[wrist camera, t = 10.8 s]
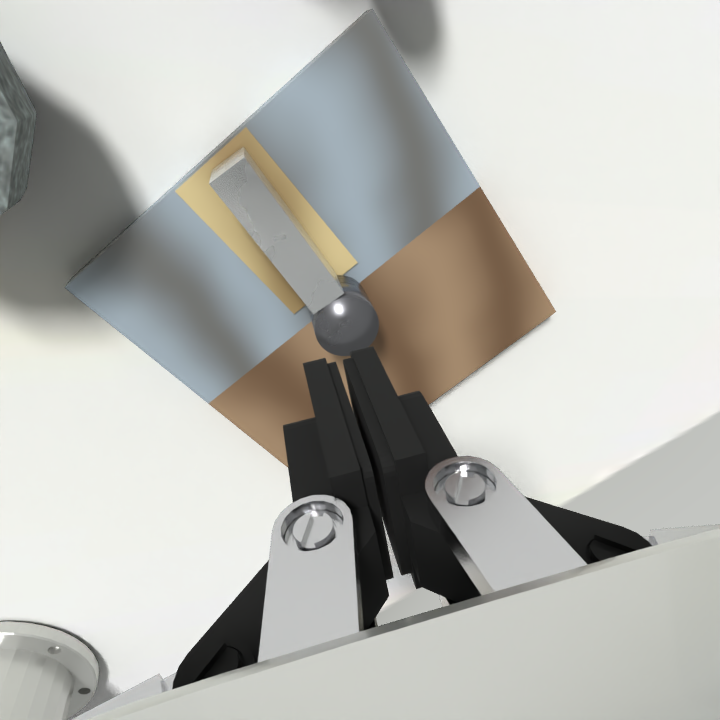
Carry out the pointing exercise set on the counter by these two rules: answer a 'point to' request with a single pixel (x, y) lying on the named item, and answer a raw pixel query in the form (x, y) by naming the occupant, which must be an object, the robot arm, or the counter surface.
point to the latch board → (323, 248)
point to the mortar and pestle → (14, 134)
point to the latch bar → (297, 257)
